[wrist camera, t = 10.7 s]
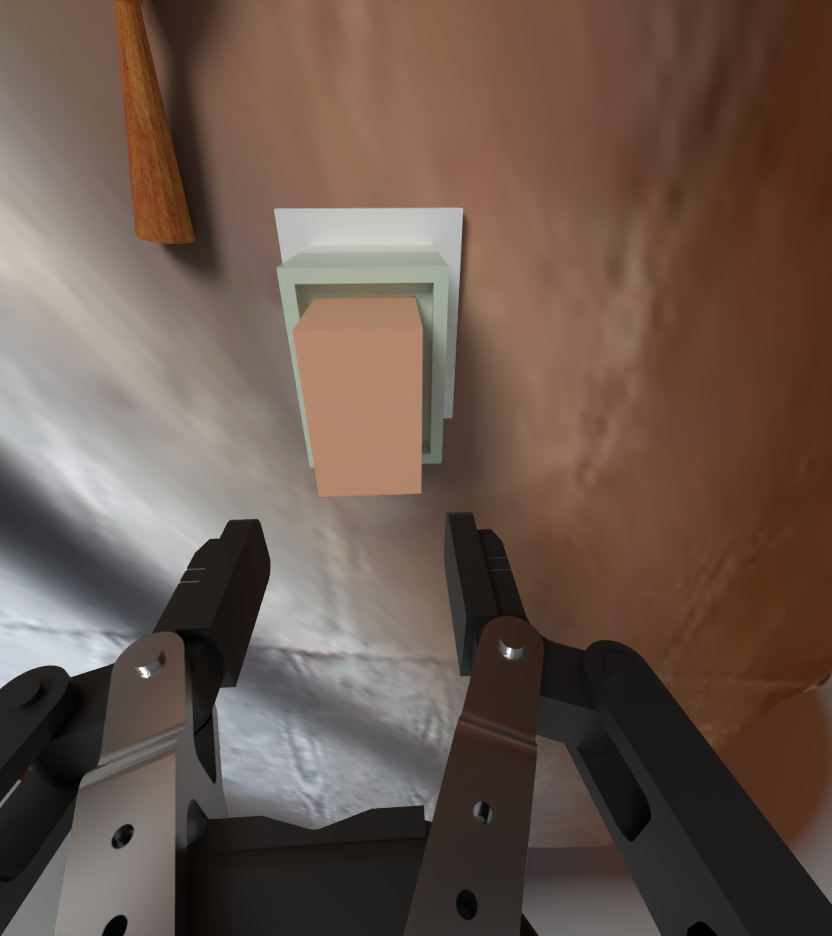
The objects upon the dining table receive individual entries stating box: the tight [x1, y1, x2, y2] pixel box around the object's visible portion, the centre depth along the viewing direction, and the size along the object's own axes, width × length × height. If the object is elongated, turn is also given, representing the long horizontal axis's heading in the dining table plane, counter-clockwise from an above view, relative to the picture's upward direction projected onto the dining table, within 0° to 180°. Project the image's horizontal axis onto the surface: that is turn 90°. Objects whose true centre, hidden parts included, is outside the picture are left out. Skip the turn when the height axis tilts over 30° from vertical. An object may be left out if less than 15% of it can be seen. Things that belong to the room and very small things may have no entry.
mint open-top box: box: [274, 208, 463, 467], centre depth 27 cm, size 15×12×11 cm
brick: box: [292, 296, 423, 497], centre depth 21 cm, size 8×5×6 cm, turn 0°
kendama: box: [114, 0, 195, 244], centre depth 21 cm, size 6×6×20 cm
